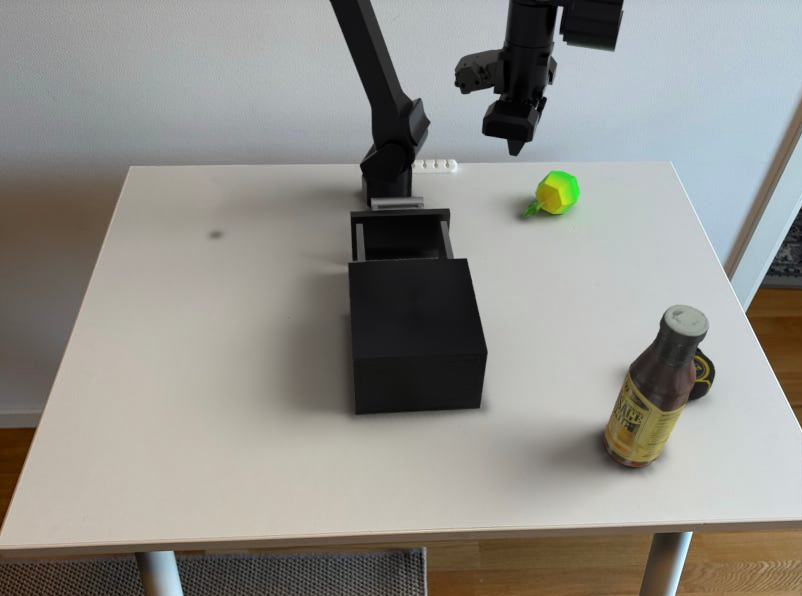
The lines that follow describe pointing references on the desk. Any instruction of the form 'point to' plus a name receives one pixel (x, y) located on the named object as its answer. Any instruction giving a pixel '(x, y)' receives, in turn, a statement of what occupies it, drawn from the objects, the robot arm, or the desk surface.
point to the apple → (555, 193)
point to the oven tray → (400, 231)
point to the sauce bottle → (656, 389)
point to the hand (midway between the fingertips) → (513, 154)
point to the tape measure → (702, 375)
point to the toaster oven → (415, 336)
